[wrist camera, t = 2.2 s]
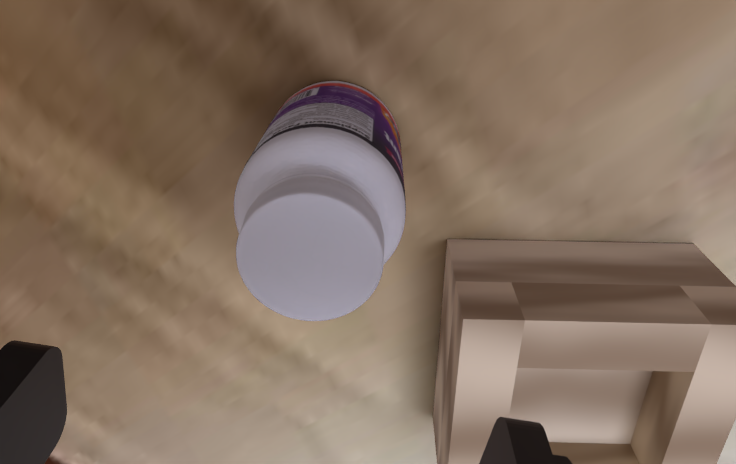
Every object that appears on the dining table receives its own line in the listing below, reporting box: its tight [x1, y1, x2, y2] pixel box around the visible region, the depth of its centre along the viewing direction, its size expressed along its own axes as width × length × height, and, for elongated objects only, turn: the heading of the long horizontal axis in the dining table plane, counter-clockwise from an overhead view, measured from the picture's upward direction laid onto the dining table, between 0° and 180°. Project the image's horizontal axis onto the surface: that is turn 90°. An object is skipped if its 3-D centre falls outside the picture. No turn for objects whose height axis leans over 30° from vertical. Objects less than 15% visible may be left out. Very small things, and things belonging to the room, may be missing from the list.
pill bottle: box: [234, 81, 406, 321], centre depth 19 cm, size 5×5×10 cm
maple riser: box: [433, 239, 736, 464], centre depth 25 cm, size 11×11×6 cm
